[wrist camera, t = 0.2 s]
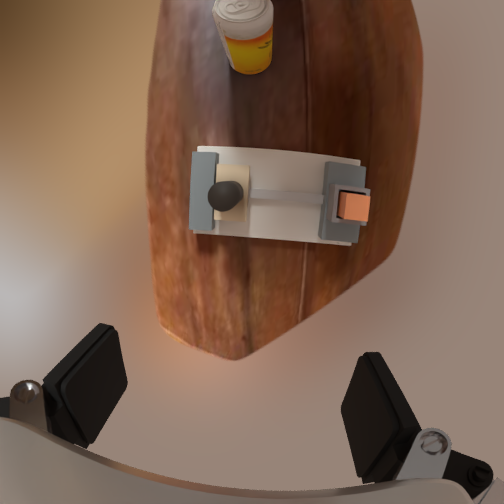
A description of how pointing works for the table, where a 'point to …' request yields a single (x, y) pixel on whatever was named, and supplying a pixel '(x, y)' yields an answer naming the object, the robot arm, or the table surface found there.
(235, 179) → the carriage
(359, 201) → the button
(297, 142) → the table surface
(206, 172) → the rail base
